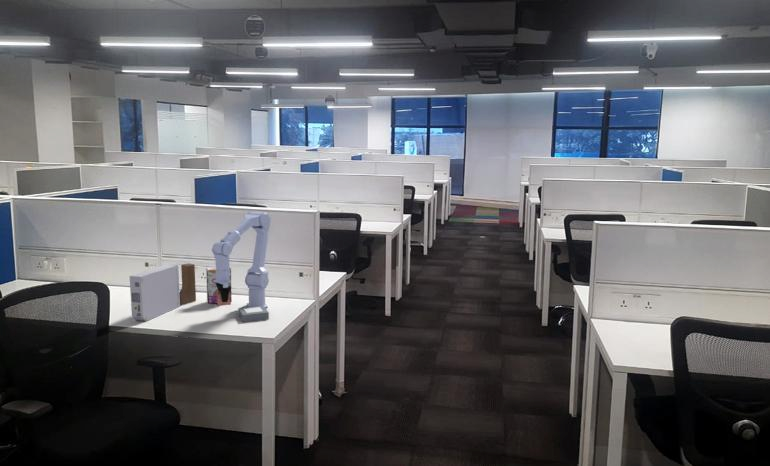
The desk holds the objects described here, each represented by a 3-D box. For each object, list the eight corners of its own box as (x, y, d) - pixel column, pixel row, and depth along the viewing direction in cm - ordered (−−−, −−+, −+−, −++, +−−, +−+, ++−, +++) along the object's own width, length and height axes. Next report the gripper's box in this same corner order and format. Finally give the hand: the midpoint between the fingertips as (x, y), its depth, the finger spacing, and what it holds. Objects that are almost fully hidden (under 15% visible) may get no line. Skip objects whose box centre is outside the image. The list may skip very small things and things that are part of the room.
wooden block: (181, 305, 282) (179, 267, 280) (174, 303, 285) (172, 266, 282) (196, 301, 290) (194, 264, 287) (190, 299, 292) (188, 263, 290)
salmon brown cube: (217, 302, 263) (216, 291, 262) (228, 301, 265) (228, 290, 264) (218, 305, 258) (218, 294, 258) (230, 304, 260) (230, 293, 260)
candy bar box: (207, 304, 284) (206, 270, 282) (206, 301, 289) (205, 268, 287) (232, 302, 288) (231, 268, 286) (230, 299, 293) (229, 266, 291)
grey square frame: (238, 315, 267) (238, 308, 267) (263, 312, 272) (263, 305, 271) (243, 321, 257) (242, 314, 257) (268, 319, 262) (268, 311, 261)
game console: (182, 306, 281) (180, 264, 278) (143, 323, 255) (141, 276, 252) (171, 305, 282) (169, 263, 279) (132, 321, 257) (129, 275, 254)
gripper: (210, 266, 264) (211, 297, 266) (215, 273, 251) (216, 305, 253) (227, 265, 267) (228, 295, 269) (232, 272, 254) (233, 303, 256)
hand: (223, 300), depth 261 cm, fingers closed on salmon brown cube, 5 cm apart
